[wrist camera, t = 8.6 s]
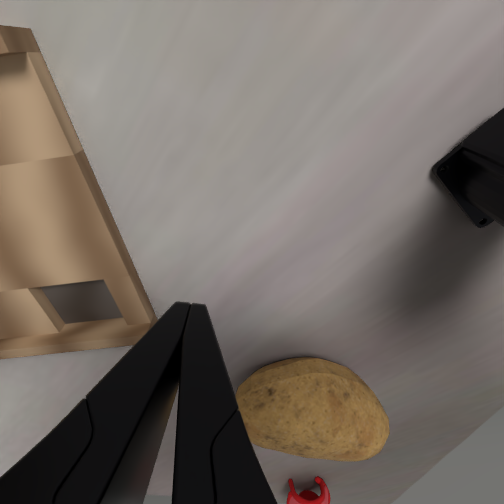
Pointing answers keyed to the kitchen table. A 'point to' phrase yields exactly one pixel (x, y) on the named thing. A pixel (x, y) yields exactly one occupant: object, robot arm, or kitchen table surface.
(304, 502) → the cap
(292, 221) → the kitchen table surface
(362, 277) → the kitchen table surface
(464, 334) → the kitchen table surface
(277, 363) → the potato
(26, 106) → the tray
